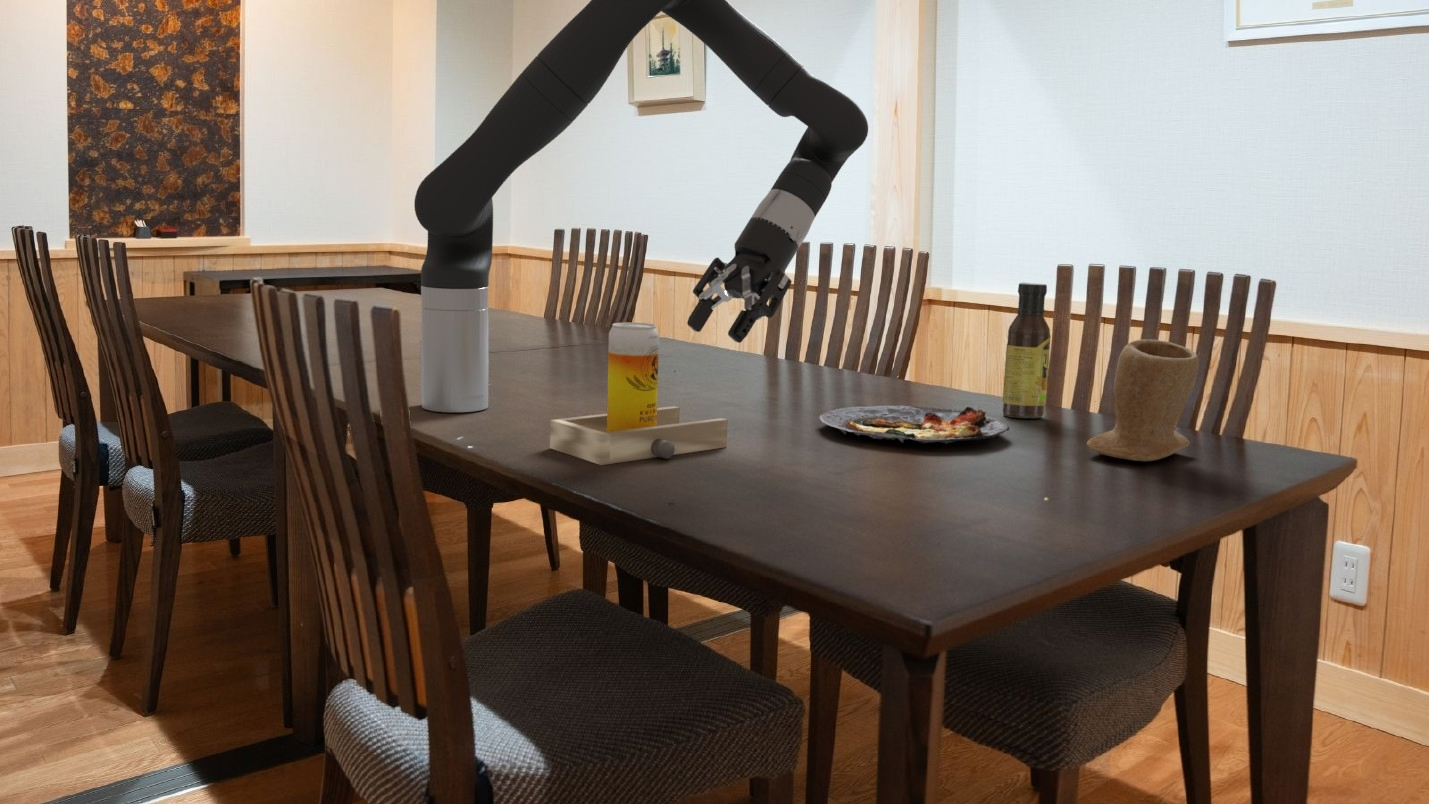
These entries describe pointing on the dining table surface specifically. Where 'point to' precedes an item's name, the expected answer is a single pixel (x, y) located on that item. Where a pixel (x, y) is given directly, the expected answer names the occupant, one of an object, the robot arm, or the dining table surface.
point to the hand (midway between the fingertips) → (712, 333)
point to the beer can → (632, 376)
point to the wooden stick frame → (635, 437)
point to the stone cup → (1149, 401)
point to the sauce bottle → (1027, 356)
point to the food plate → (915, 423)
